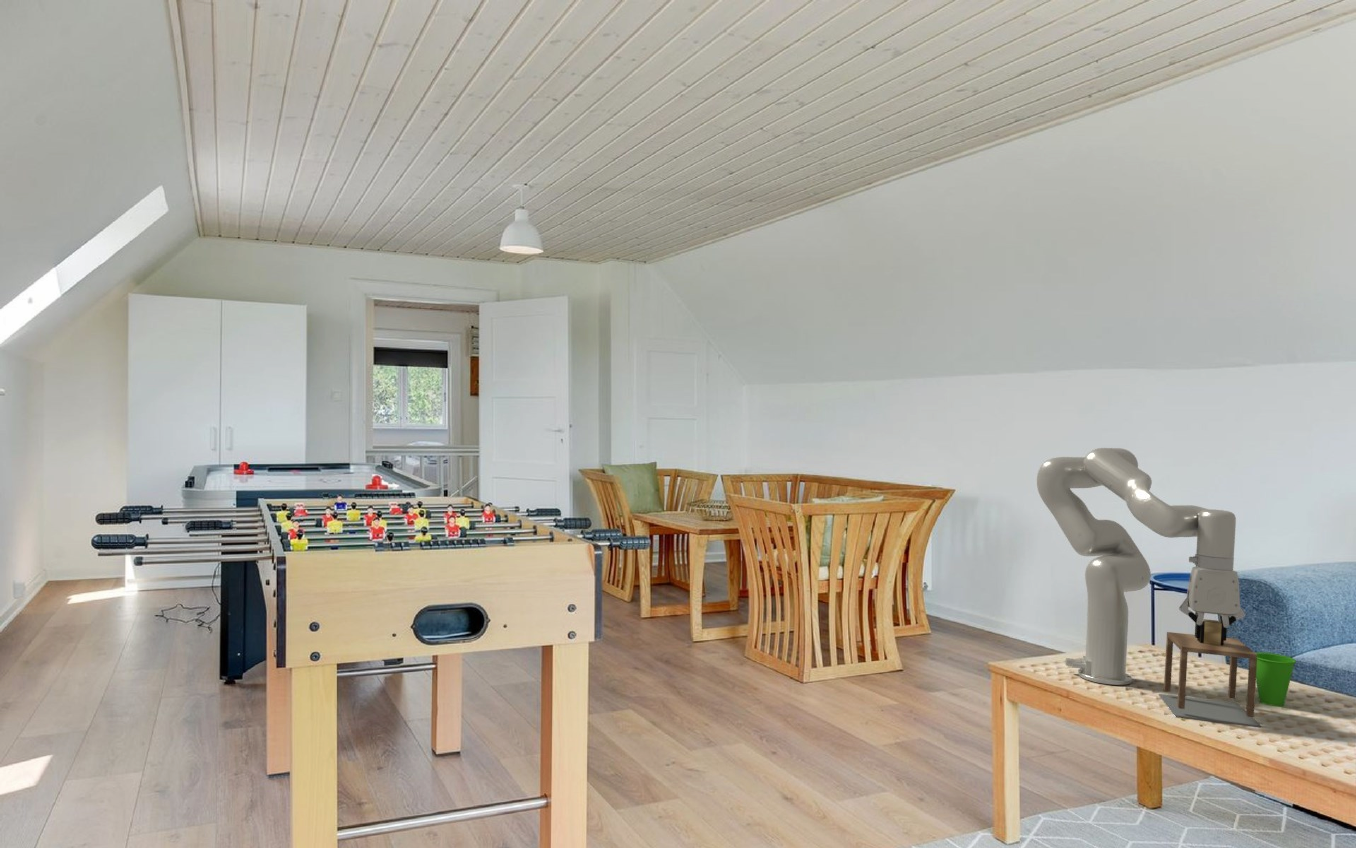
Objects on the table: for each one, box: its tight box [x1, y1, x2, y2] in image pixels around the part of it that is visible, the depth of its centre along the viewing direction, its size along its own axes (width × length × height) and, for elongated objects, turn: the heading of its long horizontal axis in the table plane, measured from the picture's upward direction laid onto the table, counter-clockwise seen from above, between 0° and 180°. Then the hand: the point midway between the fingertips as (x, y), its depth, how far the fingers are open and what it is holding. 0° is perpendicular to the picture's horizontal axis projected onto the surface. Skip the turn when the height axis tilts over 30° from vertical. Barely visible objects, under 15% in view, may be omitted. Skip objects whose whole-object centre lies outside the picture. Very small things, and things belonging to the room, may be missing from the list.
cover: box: [1163, 618, 1257, 718], centre depth 214 cm, size 15×15×19 cm
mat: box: [1158, 693, 1262, 728], centre depth 214 cm, size 17×17×1 cm
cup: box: [1255, 651, 1297, 707], centre depth 222 cm, size 9×9×11 cm
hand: (1210, 641), depth 214 cm, fingers closed on cover, 3 cm apart
